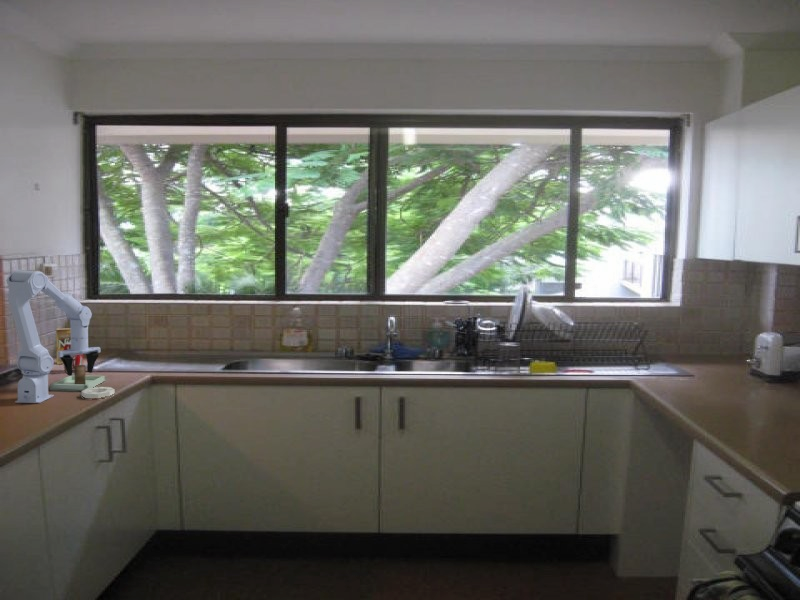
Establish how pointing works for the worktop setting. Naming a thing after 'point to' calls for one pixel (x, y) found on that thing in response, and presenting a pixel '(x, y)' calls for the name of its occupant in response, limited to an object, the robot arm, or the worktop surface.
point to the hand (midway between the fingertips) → (79, 373)
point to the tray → (70, 385)
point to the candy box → (62, 340)
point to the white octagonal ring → (98, 392)
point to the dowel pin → (79, 374)
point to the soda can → (74, 357)
